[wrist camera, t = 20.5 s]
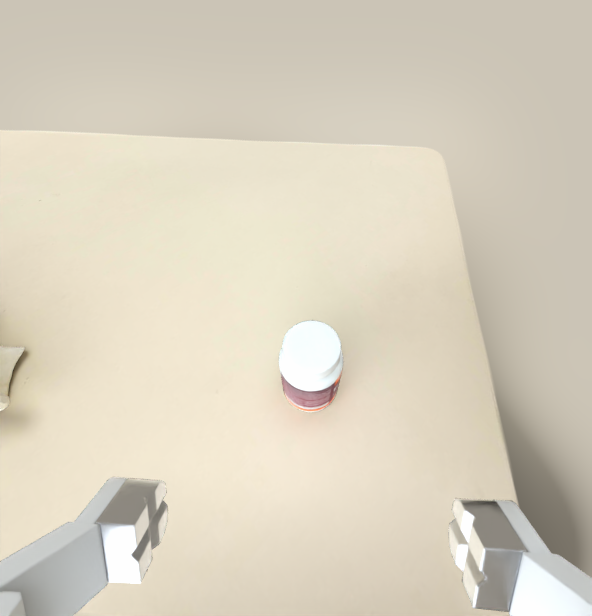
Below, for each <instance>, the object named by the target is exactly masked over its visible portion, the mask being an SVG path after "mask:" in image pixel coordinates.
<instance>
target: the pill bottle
mask: <svg viewBox="0 0 592 616" xmlns="http://www.w3.org/2000/svg"><path fill="white" fill-rule="evenodd" d="M343 362H344V361H343V354H342V351H341V342H340V339H339V336H338V335H337V333H336V332H335V331H334V330H333V329H332V328H331V327H330V326H329V325H327V324H325V323H323V322H319V321H314V320H311V321H303V322H300V323H298V324H296V325H294V326H293V327H292V328H291V329H290V330H289V331H288V332H287V333H286V335H285V337H284V340H283V346H282V348H281V351H280V354H279V366H280V372H281V378H282V384H283V390H284V394H285V396H286V398H287V400H288V401H289V402H290V404H291V405H293V406H294V407H295V408H297V409H299V410H301V411H305V412H316V411H320V410H322V409H324V408H326V407H327V406H329V405H330V403H331V402H332V401H333V400H334V398H335V396H336V393H337V389H338V385H339V382H340V377H341V373H342V369H343Z"/></svg>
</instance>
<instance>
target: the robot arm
mask: <svg viewBox="0 0 592 616" xmlns="http://www.w3.org/2000/svg"><path fill="white" fill-rule="evenodd" d="M166 493H167V491H166V483H165V482H164V481H160V480H148V479H137V478H121V477H112V478H110V479H108V480H107V481H106V483H105V484H104V485H103V486H102V488H101V489H100V490H99V491H98V493H97V494H96V495H95V496H94V498H93V499H92V500H91V501H90V503H89V504H88V505H87V506H86V508H85V509H84V510H83V511H82V513H81V514H80V515H79V516H78V518H77V519H76V520H75V521H74V522H68V523H66V524H64V525H62V526H61V527H59V528H57V529H55V530H54V531H52V532H50V533H48V534H47V535H45V536H43V537H42V538H40V539H38V540H36V541H35V542H33V543H31V544H29V545H28V546H26V547H24V548H22V549H21V550H19V551H17V552H16V553H14V554H12V555H10V556H9V557H7V558H5V559H3V560H2V561H0V616H73V615H74V614H76V613H77V612H78V611H79V610H80V609H81V608H82V607H83V606H84V605H85V604H87V603H88V602H89V601H90V600H91V599H92V598H93V597H94V596H95V595H96V594H98V593H99V592H100V591H101V590H102V589H103V588H104V587H105V586H106V585H107V584H108V582H117V583H141V582H142V580H143V577H144V575H145V573H146V571H147V569H148V567H149V565H150V563H151V561H152V549H154V548H155V547H156V546H157V545H159V544H160V542H161V540H162V538H163V536H164V533H165V529H166V526H167V521H168V506H167V504H166V503H165V502H164V501H163V499H164V497H165V495H166ZM452 512H453V514H454V516H455V519H454V520H453V521H452V522H451V523H450V524H449V532H448V536H449V546H450V550H451V554H452V557H453V559H454V562H455V564H456V565H457V566H458V567H459V568H460V569H461V570H462V571H463V578H462V582H463V585H464V587H465V589H466V592H467V594H468V597H469V599H470V602H471V604H472V607H473V608H477V609H486V610H496V611H505V612H509V614H510V615H511V616H592V578H591V577H589V576H588V575H587V574H585V573H584V572H583V571H581V570H580V569H578V568H577V567H575V566H574V565H572V564H571V563H569V562H568V561H567V560H565V559H564V558H562V557H561V556H560V555H558V554H552V553H551V552H550V551H549V549H548V548H547V546H546V545H545V544H544V542H543V541H542V539H541V538H540V537H539V535H538V534H537V532H536V531H535V529H534V528H533V527H532V525H531V524H530V522H529V521H528V520H527V518H526V517H525V515H524V514H523V512H522V511H521V510H520V508H519V507H518V505H517V504H516V503H515V502H513V501H509V500H480V499H461V498H455V500H454V502H453V505H452Z"/></svg>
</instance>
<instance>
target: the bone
mask: <svg viewBox="0 0 592 616" xmlns="http://www.w3.org/2000/svg"><path fill="white" fill-rule="evenodd" d="M24 349H25V347H5V346H2V345H0V411H2V410H3V409H5V408H7V407H8V406H9V403H10V397H8V391H9V383H10V379H11V376H12V371H13V369H14V366H15V364H16V362H17V361H18V359H19V358H20V356H21V355H22V353H23V351H24Z"/></svg>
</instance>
